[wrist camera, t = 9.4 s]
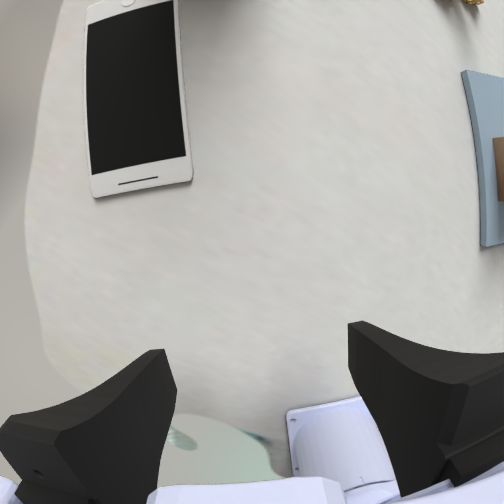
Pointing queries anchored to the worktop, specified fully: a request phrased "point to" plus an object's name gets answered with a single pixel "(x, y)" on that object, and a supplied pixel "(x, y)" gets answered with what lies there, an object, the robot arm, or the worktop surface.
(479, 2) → the cream long lumpy piece
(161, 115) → the smartphone
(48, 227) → the worktop surface
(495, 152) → the walnut cube
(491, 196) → the slate board
